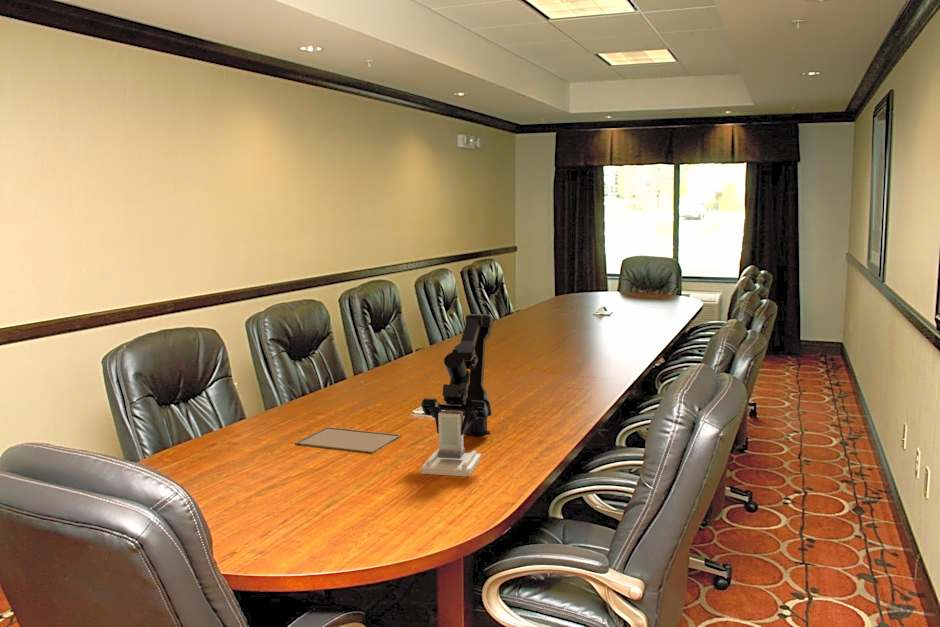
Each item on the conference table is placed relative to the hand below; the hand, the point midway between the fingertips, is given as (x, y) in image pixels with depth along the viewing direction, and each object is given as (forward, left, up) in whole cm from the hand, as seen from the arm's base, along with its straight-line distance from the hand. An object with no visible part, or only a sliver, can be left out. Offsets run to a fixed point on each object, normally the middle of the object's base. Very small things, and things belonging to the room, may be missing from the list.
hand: (449, 433), depth 237 cm
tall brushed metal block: (-1, -1, -7) cm, 7 cm away
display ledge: (-1, -1, -10) cm, 10 cm away
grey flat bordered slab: (+7, -43, -11) cm, 45 cm away
